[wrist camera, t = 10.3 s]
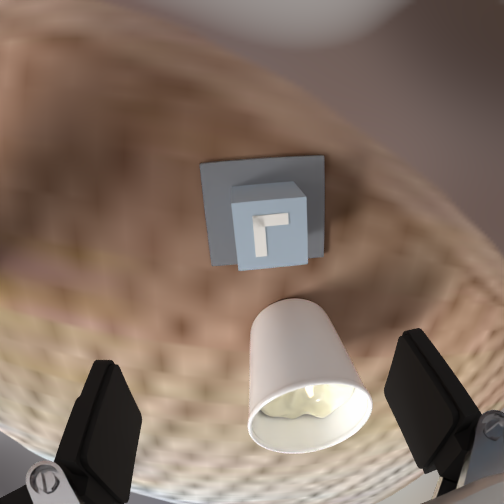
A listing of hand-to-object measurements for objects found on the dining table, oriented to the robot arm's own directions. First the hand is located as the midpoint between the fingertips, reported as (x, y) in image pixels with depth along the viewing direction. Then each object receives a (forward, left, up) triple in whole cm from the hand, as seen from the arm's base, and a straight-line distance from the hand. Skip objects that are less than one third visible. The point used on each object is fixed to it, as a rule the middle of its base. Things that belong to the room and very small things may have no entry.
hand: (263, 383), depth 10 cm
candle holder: (+4, -13, -19) cm, 24 cm away
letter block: (+2, 0, -18) cm, 19 cm away
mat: (+2, 0, -19) cm, 19 cm away
